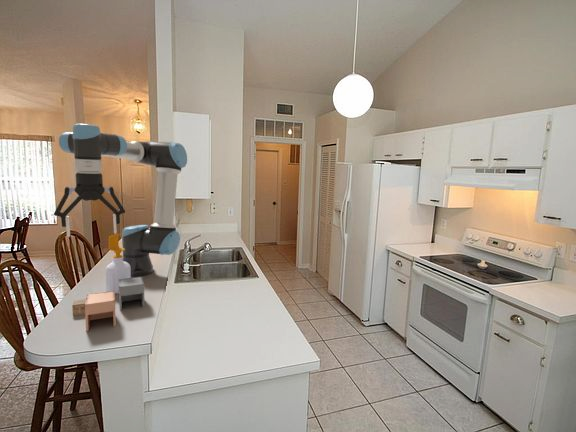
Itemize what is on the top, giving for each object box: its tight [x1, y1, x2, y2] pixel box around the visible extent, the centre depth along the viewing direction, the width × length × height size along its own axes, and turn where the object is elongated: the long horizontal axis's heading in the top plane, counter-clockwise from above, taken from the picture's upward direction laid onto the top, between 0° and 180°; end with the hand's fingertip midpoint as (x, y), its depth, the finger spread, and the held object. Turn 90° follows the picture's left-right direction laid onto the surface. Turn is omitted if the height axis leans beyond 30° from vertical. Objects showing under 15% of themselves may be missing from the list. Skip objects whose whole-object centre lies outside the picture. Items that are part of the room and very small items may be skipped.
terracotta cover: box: [84, 291, 117, 332], centre depth 102 cm, size 8×8×9 cm
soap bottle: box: [105, 232, 132, 295], centre depth 128 cm, size 9×9×25 cm
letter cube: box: [71, 298, 86, 316], centre depth 109 cm, size 4×4×4 cm
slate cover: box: [118, 276, 145, 311], centre depth 117 cm, size 8×8×9 cm
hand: (92, 234), depth 106 cm, fingers open, 13 cm apart
